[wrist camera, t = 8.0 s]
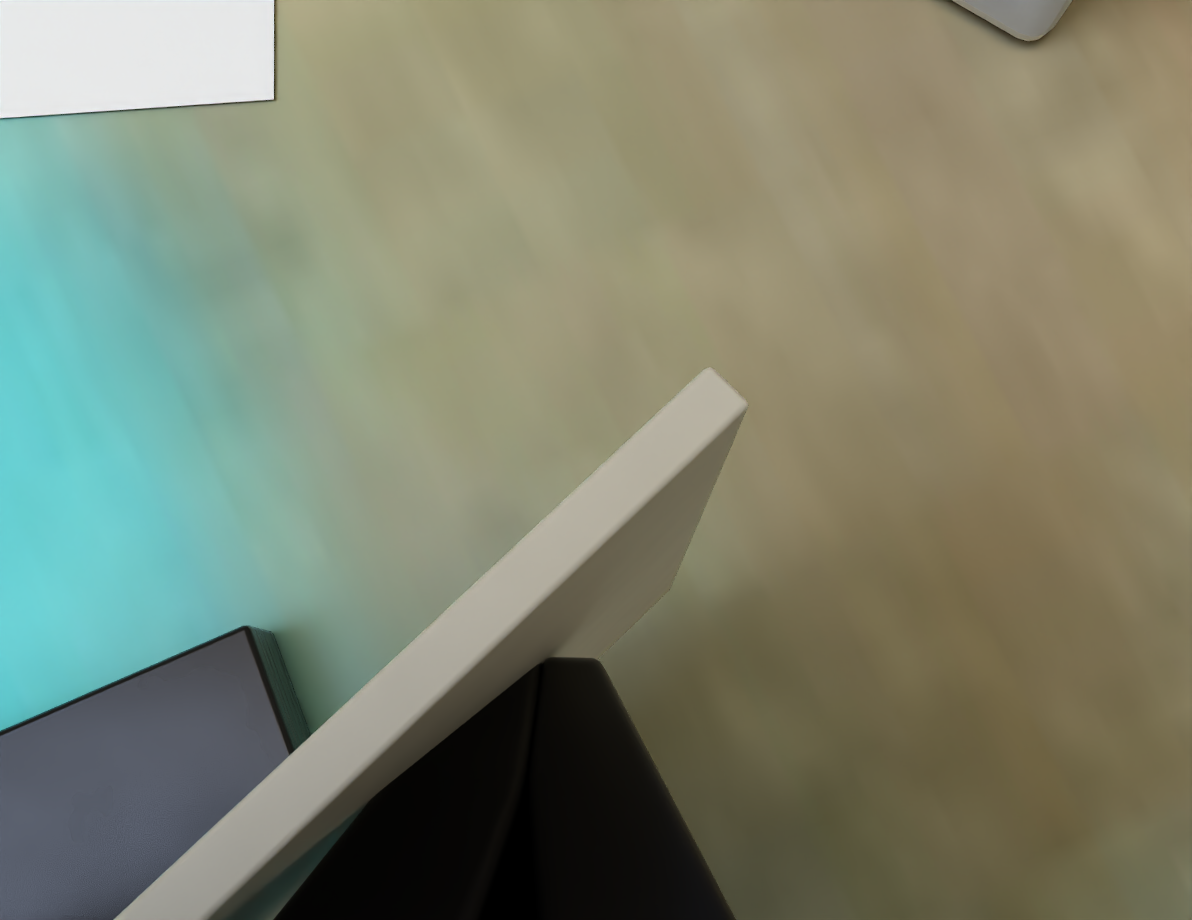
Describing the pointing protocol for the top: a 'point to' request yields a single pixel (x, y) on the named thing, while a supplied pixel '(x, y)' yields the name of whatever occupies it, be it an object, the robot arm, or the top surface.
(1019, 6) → the container
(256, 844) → the towel roll
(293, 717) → the holder
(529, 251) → the top surface
